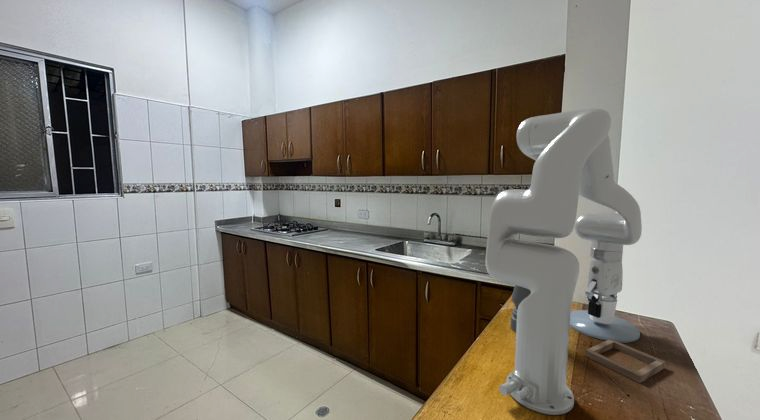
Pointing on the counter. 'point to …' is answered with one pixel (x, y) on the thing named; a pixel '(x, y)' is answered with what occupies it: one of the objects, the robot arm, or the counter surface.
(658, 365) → the pocket frame
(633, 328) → the plate
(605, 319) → the shot glass
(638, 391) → the counter surface
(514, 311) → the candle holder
